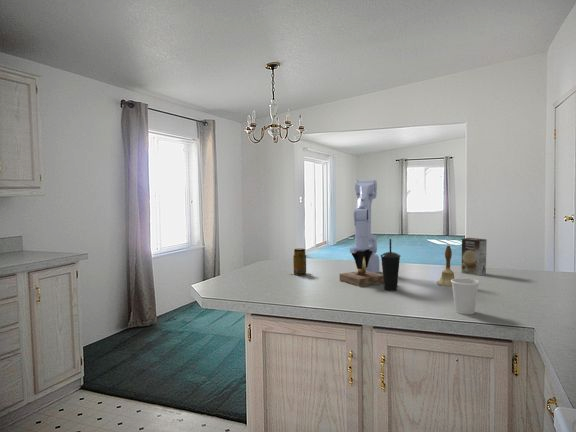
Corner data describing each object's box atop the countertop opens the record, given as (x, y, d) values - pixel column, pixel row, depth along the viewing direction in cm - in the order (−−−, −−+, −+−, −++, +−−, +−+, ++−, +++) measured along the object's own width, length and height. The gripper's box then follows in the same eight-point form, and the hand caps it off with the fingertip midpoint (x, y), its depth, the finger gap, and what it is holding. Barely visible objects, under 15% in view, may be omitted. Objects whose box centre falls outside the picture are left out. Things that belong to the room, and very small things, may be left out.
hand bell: (459, 283, 178) (459, 244, 177) (457, 287, 170) (458, 247, 169) (438, 281, 181) (438, 244, 180) (436, 285, 174) (436, 246, 173)
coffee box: (460, 272, 200) (460, 238, 199) (468, 271, 203) (468, 237, 202) (478, 275, 192) (479, 240, 191) (486, 273, 196) (487, 239, 195)
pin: (360, 272, 186) (359, 256, 186) (367, 272, 184) (366, 256, 184) (356, 273, 184) (355, 257, 183) (363, 274, 181) (362, 257, 181)
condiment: (300, 272, 209) (300, 247, 208) (312, 274, 202) (312, 249, 202) (289, 274, 204) (288, 249, 203) (301, 276, 198) (300, 250, 197)
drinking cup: (401, 288, 170) (401, 238, 169) (399, 292, 163) (399, 240, 162) (381, 286, 173) (381, 237, 172) (379, 291, 166) (379, 239, 165)
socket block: (365, 277, 193) (365, 270, 193) (385, 282, 181) (385, 275, 181) (339, 280, 187) (339, 273, 187) (359, 286, 175) (359, 279, 174)
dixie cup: (450, 314, 133) (450, 282, 133) (450, 307, 141) (450, 277, 141) (480, 316, 130) (480, 284, 130) (478, 309, 138) (478, 278, 138)
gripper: (364, 234, 191) (364, 264, 192) (344, 237, 181) (344, 269, 181) (377, 235, 186) (377, 266, 187) (357, 238, 176) (357, 271, 176)
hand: (362, 268), depth 184 cm, fingers closed on pin, 3 cm apart
